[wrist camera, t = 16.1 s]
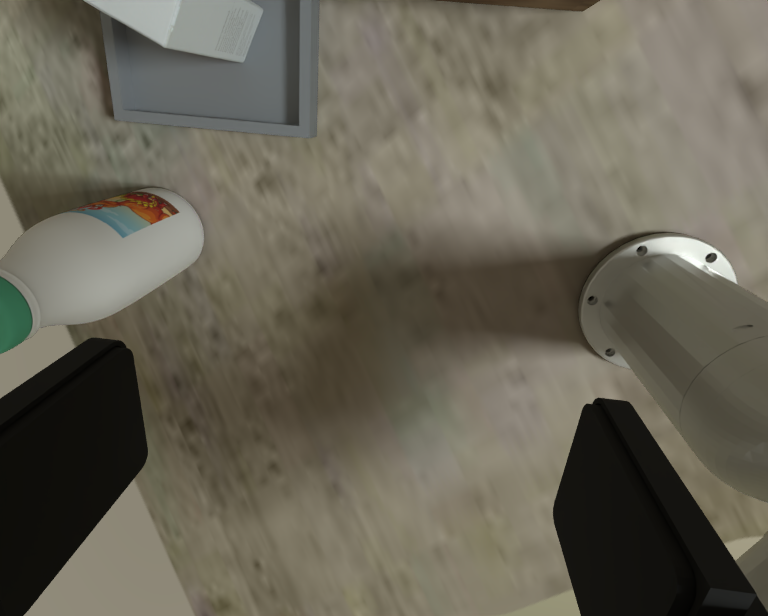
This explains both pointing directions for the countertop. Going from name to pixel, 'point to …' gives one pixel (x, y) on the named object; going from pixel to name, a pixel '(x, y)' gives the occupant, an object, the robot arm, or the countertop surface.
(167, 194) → the milk bottle
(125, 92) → the grey tray
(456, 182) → the countertop surface
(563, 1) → the walnut bin
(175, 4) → the skincare box
